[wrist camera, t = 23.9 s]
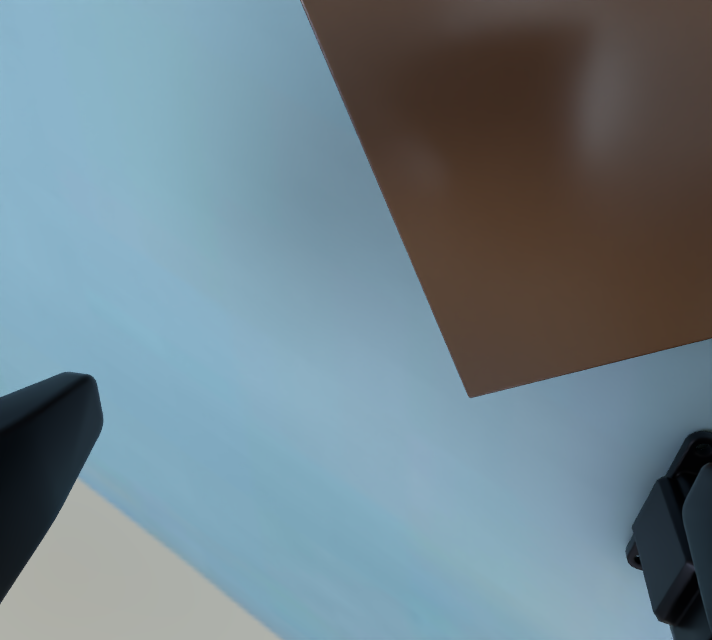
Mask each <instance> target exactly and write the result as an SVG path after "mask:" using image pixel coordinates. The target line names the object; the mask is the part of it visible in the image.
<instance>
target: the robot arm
mask: <svg viewBox="0 0 712 640" xmlns="http://www.w3.org/2000/svg"><path fill="white" fill-rule="evenodd" d="M102 426H103V413H102V408H101V402H100V397H99V392H98V387H97V383H96V380H95V379H94V377H92V376H91V375H88V374H81V373H74V372H64V373H61V374H58V375H56V376H53V377H51V378H48V379H46V380H43V381H41V382H38V383H35V384H33V385H30V386H28V387H25V388H23V389H20V390H18V391H15V392H13V393H10V394H8V395H5V396H3V397H0V603H1V602H2V600H3V599H4V597H5V596H6V594H7V593H8V591H9V590H10V588H11V587H12V585H13V584H14V582H15V580H16V579H17V577H18V576H19V574H20V573H21V571H22V570H23V568H24V566H25V565H26V564H27V562H28V560H29V559H30V558H31V556H32V555H33V553H34V551H35V550H36V548H37V547H38V545H39V544H40V542H41V541H42V539H43V538H44V536H45V535H46V533H47V531H48V530H49V528H50V527H51V525H52V523H53V522H54V520H55V519H56V517H57V515H58V513H59V511H60V510H61V508H62V506H63V504H64V502H65V500H66V498H67V496H68V495H69V492H70V491H71V489H72V487H73V485H74V483H75V481H76V479H77V477H78V475H79V473H80V471H81V469H82V468H83V466H84V464H85V462H86V460H87V458H88V456H89V454H90V452H91V450H92V448H93V446H94V444H95V442H96V441H97V439H98V437H99V435H100V432H101V430H102ZM700 444H708V446H707V447H706V448H703V449H697V448H696V447H697V446H698V445H700ZM632 530H633V536H632V538H631V540H630V542H629V544H628V545H627V547H626V551H625V552H626V556H627V560H628V563H629V564H630V565H631V566H632V567H634V568H636V569H639V570H642V571H643V573H644V577H645V581H646V585H647V589H648V593H649V597H650V601H651V605H652V609H653V612H654V614H655V615H656V617H657V619H658V621H660V622H663V623H666V624H669V625H670V629H671V632H672V636H673V639H674V640H712V433H710V432H705V431H698V432H694V433H692V434H690V435H688V437H687V438H686V439H685V441H684V443H683V444H682V446H681V448H680V450H679V452H678V454H677V455H676V457H675V459H674V461H673V463H672V465H671V466H670V468H669V470H668V472H667V474H666V476H663V477H661V478H660V479H658V480H657V481H656V483H655V485H654V486H653V488H652V490H651V492H650V494H649V496H648V498H647V499H646V501H645V503H644V505H643V507H642V509H641V511H640V512H639V514H638V516H637V518H636V520H635V522H634V524H633V526H632ZM637 555H639V557H637Z"/></svg>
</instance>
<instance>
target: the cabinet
mask: <svg viewBox="0 0 712 640" xmlns="http://www.w3.org/2000/svg"><path fill="white" fill-rule="evenodd" d="M300 1H301V3H302V6H303V8H304V10H305V13H306V15H307V18H308V20H309V22H310V25H311V27H312V29H313V32H314V34H315V36H316V39H317V41H318V43H319V46H320V48H321V51H322V53H323V55H324V58H325V60H326V62H327V65H328V67H329V69H330V72H331V74H332V76H333V79H334V81H335V84H336V86H337V88H338V91H339V93H340V95H341V98H342V100H343V102H344V105H345V107H346V109H347V112H348V114H349V116H350V119H351V121H352V124H353V126H354V128H355V131H356V133H357V135H358V138H359V140H360V142H361V145H362V147H363V149H364V152H365V154H366V157H367V159H368V161H369V164H370V166H371V168H372V171H373V173H374V175H375V178H376V180H377V182H378V185H379V187H380V190H381V192H382V194H383V197H384V199H385V201H386V204H387V206H388V208H389V211H390V213H391V215H392V218H393V220H394V222H395V225H396V227H397V230H398V232H399V234H400V237H401V239H402V241H403V244H404V246H405V248H406V251H407V253H408V255H409V258H410V260H411V263H412V265H413V267H414V270H415V272H416V274H417V277H418V279H419V281H420V284H421V286H422V288H423V291H424V293H425V295H426V298H427V300H428V303H429V305H430V307H431V310H432V312H433V314H434V317H435V319H436V321H437V324H438V326H439V328H440V331H441V333H442V336H443V338H444V340H445V343H446V345H447V347H448V350H449V352H450V354H451V357H452V359H453V361H454V364H455V366H456V369H457V371H458V373H459V376H460V378H461V380H462V383H463V385H464V387H465V390H466V392H467V394H468V396H469V398H473V397H477V396H481V395H485V394H489V393H493V392H497V391H501V390H505V389H509V388H513V387H517V386H521V385H525V384H529V383H533V382H537V381H541V380H545V379H549V378H553V377H558V376H562V375H566V374H570V373H574V372H578V371H582V370H586V369H590V368H594V367H598V366H602V365H606V364H610V363H614V362H618V361H622V360H626V359H630V358H634V357H638V356H642V355H646V354H650V353H654V352H658V351H662V350H666V349H670V348H674V347H678V346H682V345H686V344H690V343H694V342H699V341H703V340H707V339H711V338H712V0H300Z"/></svg>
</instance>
